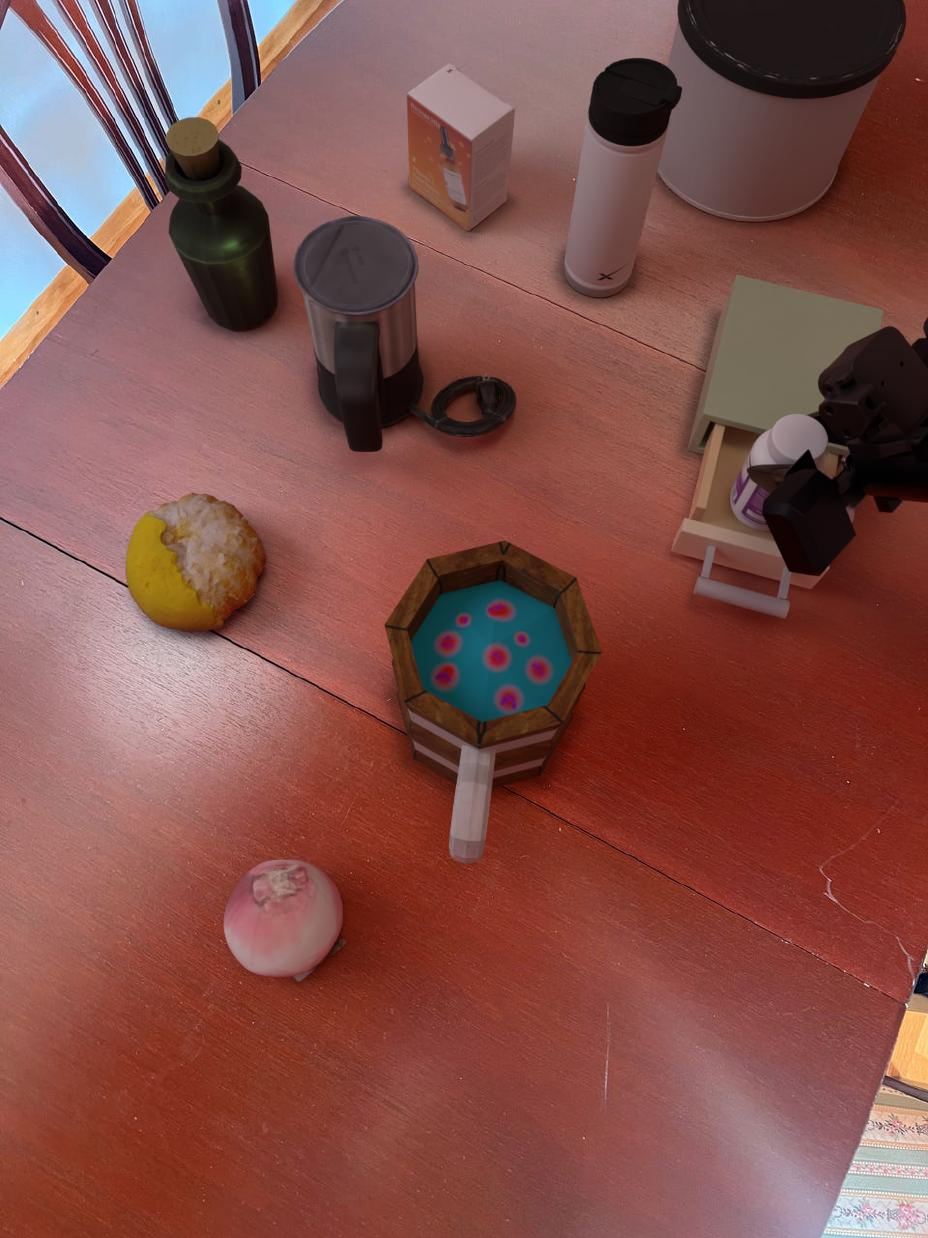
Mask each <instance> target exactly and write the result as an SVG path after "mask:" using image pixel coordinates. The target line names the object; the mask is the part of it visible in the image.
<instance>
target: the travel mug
mask: <svg viewBox="0 0 928 1238" xmlns="http://www.w3.org/2000/svg"><path fill="white" fill-rule="evenodd" d="M667 66H668V65H665V64H664V63H662V62H661V61H657V60H655V59H652V58H645V57H628V58H624V59H619V60H616V61H613V62H612V63H610V64H609V65H607V66H606V67H605V68H604V70H603V71H601V72H600V73H599V74H598V75H597V76H596V77H595V79H594V81H593V83H592V89H591V94H590V99H589V106H588V108H587V114H586V121H585V127H584V132H583V140H582V147H581V151H580V158H579V165H578V170H577V171H578V172H577V177H576V183H575V190H574V197H573V201H572V202H573V203H572V209H571V214H570V222H569V228H568V236H567V241H566V247H565V254H564V261H563V274H564V278H565V279H566V281H567V282H568V284H569V285H570V286H571V287H572V288H573V289H574V290H576V291H577V292H578V293H580V294H583V295H586V296H589V297H594V298H605V297H610V296H613V295H616V294H618V293H619V292H621V291H622V290H623V289H624V288H626V287H627V285H628V284H629V282H630V280H631V276H632V273H633V270H634V269H633V268H634V265H635V261H636V257H637V253H638V248H639V245H640V242H641V238H642V234H643V229H644V225H645V223H646V222H645V221H646V218H647V213H648V209H649V205H650V201H651V198H652V194H653V189H654V186H655V182H656V178H657V174H658V172H657V170H658V166H659V162H660V158H661V154H662V150H663V146H664V143H665V139H666V134H667V131H668V127H669V121H670V115H671V112H672V109H674V108H675V107H676V105H677V104H678V102H679V101H680V99H681V94H682V87H681V86H678V85H677V79H676V77H675V75H674V73H673V72H672V71H671V69H669V68H668V67H667Z"/></svg>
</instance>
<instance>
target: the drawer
mask: <svg viewBox="0 0 928 1238" xmlns="http://www.w3.org/2000/svg"><path fill="white" fill-rule="evenodd" d="M761 435H762V434H759V433H755V432H751V431H747V430H743V429H739V428H736V427H732V426H728V425H724V424H720V423H716V422H712V421H711V426H710V430H709V434H708V438H707V442H706V447H705V451H704V455H703V454H702V458H701V459H702V460H701V464H700V468H699V472H698V476H697V481H696V485H695V489H694V492H693V496H692V501H691V504H690V505H691V506H690V510H689V513H688V517H684V518H683V520H682V522H681V524H680V525H679V528H678V530H677V532H676V534H675V537H674V539H673V541H672V546H671V553H675V554H678V555H682V556H687V557H690V558H693V559H697V560H700V561H703V564H702V569H701V572H700V576H698V577H697V579H696V581H695V583H694V584H695V585H694V588H693V595H696V596H699V597H703V598H707V599H710V600H714V601H718V602H721V603H725V604H728V605H732V606H737V607H739V608H744V609H747V610H751V611H754V612H758V613H762V614H765V615H769V616H772V617H776V618H779V619H783V620H784V619H786V617H788V613H789V611H790V607H791V601H790V600H788V595H789V589H790V585H793V586H796V587H801V588H803V589H807V590H808V589H809V590H813V588H814V587H815V586H816V584H818V582H819V581H820V580H821V579H822V578H823V577H824V576H825V575H826V574H827V572H828V571H830V566H831V564H830V565H829V567H828V568H827V569H826V570H825V571H824V572H823V573H822V574H821V575H820V577H819V576H810V575H804V574H799V573H794V572H789V570H788V568H787V566H786V564H785V562H784V560H783V558H782V555H781V553H780V551H779V549H778V547H777V545H776V543H775V540H774V538H773V536H772V534H771V532H770V531H761V530H756V529H753V528H750V527H748V526H746V525H745V524H744V523H742V522H741V521H740V520H739V519H738V518H737V517H736V516H735V514H734V512H733V511H732V508H731V504H730V493H731V489H732V487H733V484H734V482H735V481H736V479H737V477H738V475H739V473H740V471H741V469H742V467H743V465H744V463H745V461H746V459H747V457H748V455H749V453H750V451H751V449H752V446H753V445H754V443H755V442H756V440H757V439H758V438H759V437H760V436H761ZM838 457H839V454H837V453H833V452H829V451H825V453H824V468H823V471H822V472H823V473H824V474H825V475H831V476H835V474H836V469H837V463H838ZM713 564H716V565H720V566H723V567H727V568H731V569H734V570H738V571H742V572H745V573H749V574H753V575H757V576H760V577H763V578H767V579H771V580H775V581H779V587H778V593H777V596H772V595H769V594H765V593H762V592H758V591H754V590H750V589H747V588H744V587H739V586H736V585H732V584H728V583H725V582H721V581H718V580H713V579H710V576H711V572H712V567H713Z"/></svg>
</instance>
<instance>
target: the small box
mask: <svg viewBox="0 0 928 1238" xmlns="http://www.w3.org/2000/svg"><path fill="white" fill-rule="evenodd" d="M515 115H516V107H514V106H513V105H511V104H510V103H509V102H507V101H505V100H504V99H502V98H501V97H499V96H497V95H496V94H495V93H493V92H491V91H490V90H488V89H487V88H486V87H485V86H483V85H482V84H481V83H479V82H478V81H476V80H475V79H474V78H471V77H470V76H469V75H468V74H467V73H465V72H464V71H463V70H461V69H460V68H458V66H457V65H455V64H454V63H453V62H448V63H446V64H445V65H443V67H441V68H439V69H438V70H437V71H435V72H434V73H433V74H431V75H430V76H429V77H427V78H426V79H424V80H423V81H421V82H420V83H418V84H417V85H416V86H415V87H413V88H412V89H410V91H408V92H407V93H406V116H407V117H406V118H407V119H406V122H407V148H408V149H407V151H408V152H407V153H408V154H407V155H408V177H409V178H408V185H409V188H410V189H411V190H413V191H414V192H416V193H417V194H419V195H420V196H421V197H423V198H424V199H425V200H427V201H428V202H429V203H431V204H432V205H433V206H434V207H436V208H437V209H438V210H439V211H440V212H442V213H444V214H445V215H446V216H447V217H449V218H450V219H451V220H452V221H454V222H455V223H456V224H457V225H458V226H460V227H461V228H462V229H463V230H465V231H466V232H470V231H471V230H473V229H474V228H475V227H476V226H478V225H479V224H480V223H481V222H482V221H484V220H485V219H486V218H488V216H490V215H492V214H493V212H495V211H496V210H497V209H499V208H500V207H501V206H502V205H504V204H505V203H507V201H508V195H509V184H510V173H511V172H510V171H511V170H510V169H511V160H512V149H513V139H514V127H515V125H514V124H515Z"/></svg>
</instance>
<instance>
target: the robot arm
mask: <svg viewBox="0 0 928 1238" xmlns="http://www.w3.org/2000/svg"><path fill="white" fill-rule="evenodd" d="M922 330H923V332H924V336H925V337H918V338H917V339H916V340H915V341H914V342H913V343H912V344H910V342H909V341H908V339H906V337H905V336H904V334H903V333H902V332H901V330H899V329H898V328H897V327H895V326H891V325H888V326H885V327H883V328H882V327H881V329H880V330H878V331H876V332H874V333H872V334H870V335H868V336H866V337H864V338H862V339H860V340H858V341H856V342H854V343H852V344H850V345H848V346H847V347H846V348H845V349H844V351H843V352H842V354H841V355H840V356H839V357H838V358H837V359H836V360H835V361H834V362H833V363H832V364H831V365H830V366H828V367H827V368H826V369H825V370H824V371H823V372H822V373H821V374H820V376H819V378H818V388H819V391H820V393H821V394H822V395H823V397H824V398H825V399H824V401H823V402H822V403H821V404H820V405H819V408H818V411H817V412H814V413H811V414H808V415H806V416H809V417H812V418H814V419H815V420H817V421H818V422H819V423H820V424H821V425H822V426H823V427H824V429H825V431H826V433H827V436H828V443H833V444H837V445H841V446H845V447H848V450H849V451H848V452H847V453H846V454H845V455H844V456H843V458H842V460H841V463H842V466H843V468H844V469H843V470H842V471H841V472H840V473H839V474H838V475H837V476H836V477H835V476H831V475H825V474H824V473H823V472H821V471H820V470H818V469H817V467H816V464H815V462H814V459H813V457H812V455H811V452H810V450H809V449H808V450H806V451H805V452H804V453H803V454H802V455H801V456H800V458H799V459H798V460H797V461H796V462H795V463H794V464H763V465H755V466H750V467H749V468H748V469H747V472H748V475H749V477H750V479H751V480H752V481H753V482H754V483H756V484H757V485H758V486H760V487H761V488H762V489H764V490H765V491H766V492H768V493H769V494H770V495H769V496H768V497H767V498H766V499H765V500H764V503H763V508H762V515H763V517H764V519H765V521H766V523H767V525H768V527H769V530H770V532H771V534H772V536H773V538H774V540H775V543H776V545H777V547H778V549H779V551H780V553H781V555H782V558H783V560H784V562H785V564H786V566H787V568H788V570H789V572H794V573H799V574H804V575H810V576H819V577H820V575H821V574H822V573H823V572H824V571H825V570H826V569H827V568H828V567H829V568H830V566H831V564H832V563H833V562H834V561H835V560H836V559H837V558H838V557H839V556H840V554H842V552H843V551H844V550H845V549H846V548H847V547H848V546H849V544H850V543H851V542H852V541H853V540H854V539H855V538H856V536H858V535H857V532H856V530H855V527H854V524H853V522H854V520H855V511H856V509H857V508H858V506H859V505H860V504H861V503H862V502H863V501H864V499H865V498H866V497H867V496H868V497H872V498H873V500H874V503H875V506H876V508H877V511H878V512H879V513H886V514H893V513H894V512H896V510H897V508H899V506H900V505H901V504H902V503H903V502H912V503H913V502H914V503H922V504H928V316H927V317H926V318H925V320H924V322H923V326H922ZM829 565H830V566H829Z"/></svg>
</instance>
